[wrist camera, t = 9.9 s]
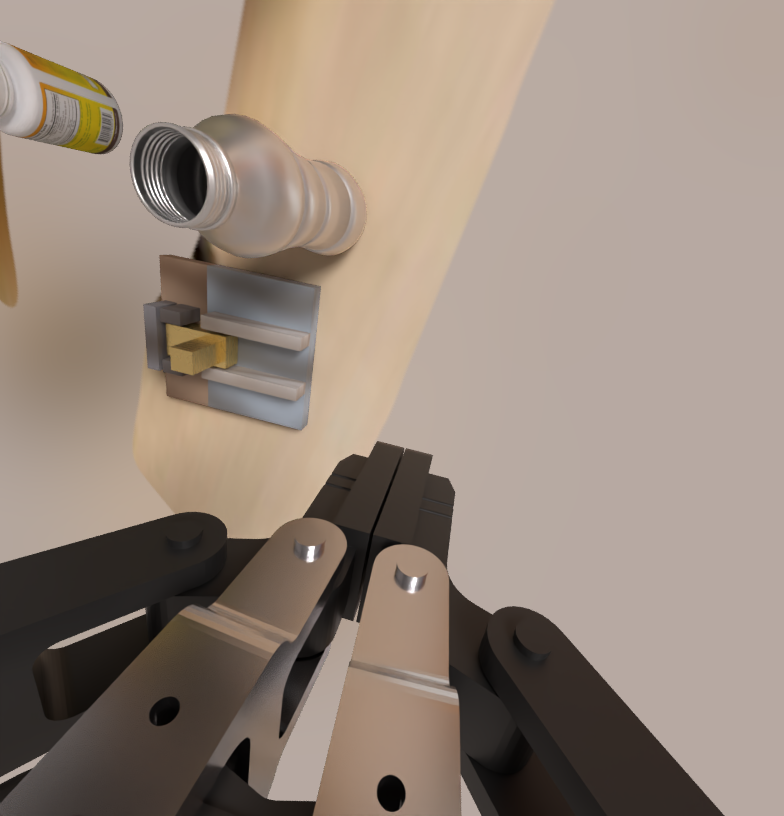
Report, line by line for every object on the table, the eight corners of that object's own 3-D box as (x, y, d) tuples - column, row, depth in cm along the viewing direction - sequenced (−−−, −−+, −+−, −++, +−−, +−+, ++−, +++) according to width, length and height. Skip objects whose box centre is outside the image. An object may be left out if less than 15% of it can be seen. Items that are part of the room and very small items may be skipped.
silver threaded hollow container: (317, 265, 36) (152, 288, 18) (286, 185, 34) (66, 120, 16) (384, 238, 34) (273, 233, 16) (355, 151, 33) (192, 35, 14)
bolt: (180, 319, 39) (131, 331, 34) (238, 332, 39) (197, 347, 33) (181, 349, 41) (134, 366, 35) (237, 363, 40) (198, 382, 34)
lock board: (170, 254, 39) (135, 256, 35) (320, 286, 37) (301, 291, 33) (176, 390, 44) (146, 405, 41) (307, 424, 43) (289, 442, 39)
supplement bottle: (59, 90, 35) (-92, 35, 26) (110, 71, 34) (-30, 6, 25) (86, 163, 37) (-45, 136, 28) (136, 147, 36) (15, 114, 27)
